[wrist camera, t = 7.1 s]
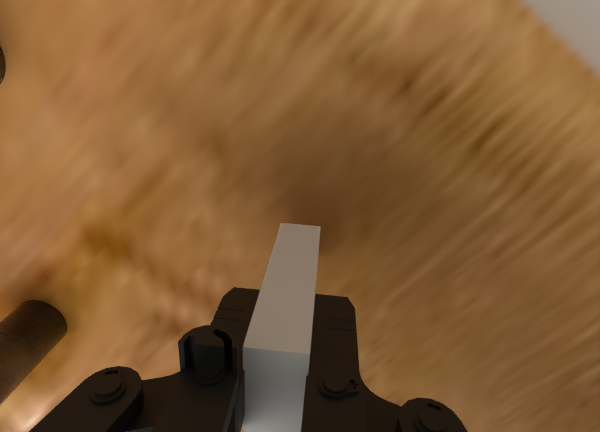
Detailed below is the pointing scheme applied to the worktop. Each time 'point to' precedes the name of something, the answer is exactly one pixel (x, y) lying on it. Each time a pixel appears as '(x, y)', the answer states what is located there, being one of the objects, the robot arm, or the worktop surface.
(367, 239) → the worktop surface
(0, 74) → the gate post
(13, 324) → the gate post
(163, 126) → the worktop surface
